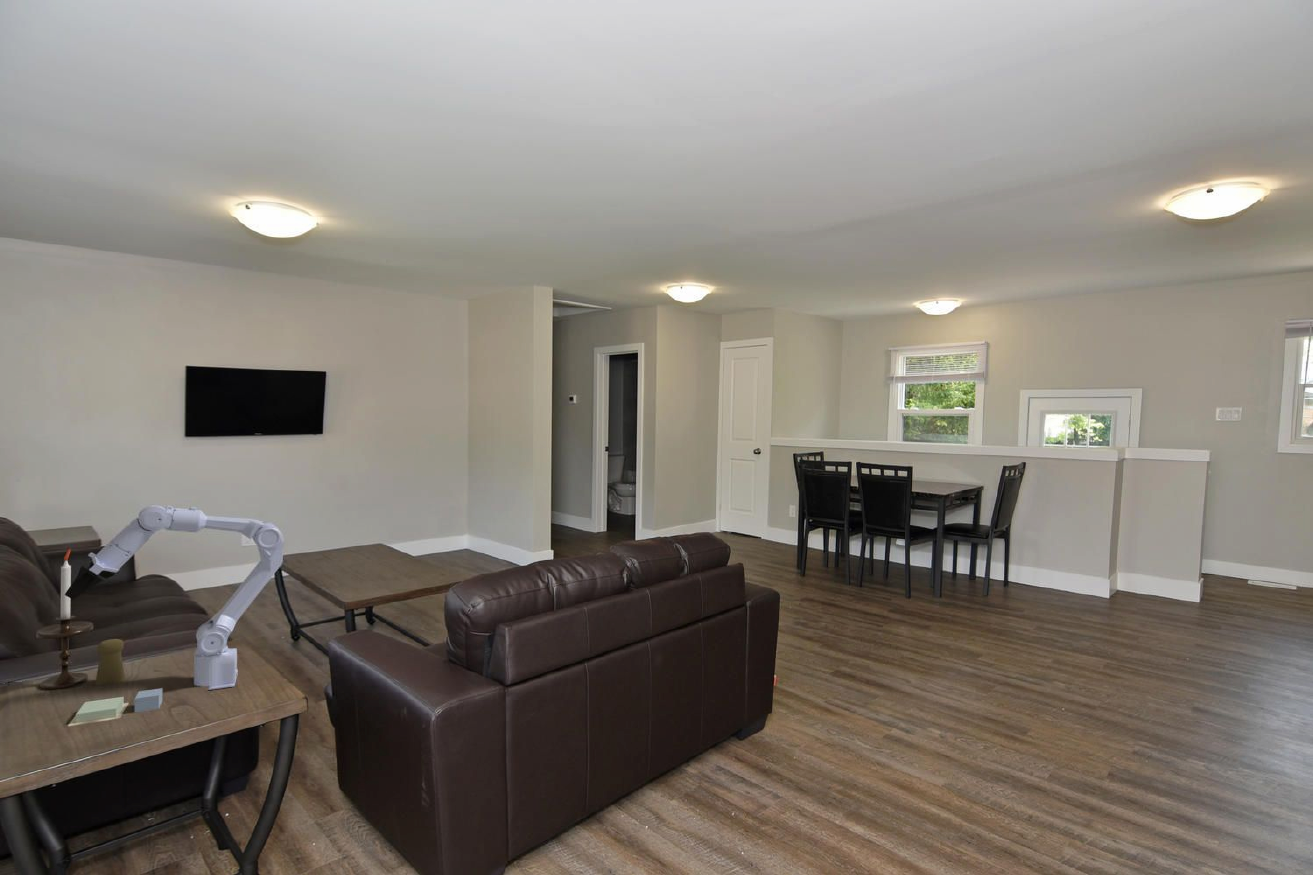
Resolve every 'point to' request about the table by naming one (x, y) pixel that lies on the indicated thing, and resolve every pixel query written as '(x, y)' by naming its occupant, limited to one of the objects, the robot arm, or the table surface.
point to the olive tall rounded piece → (110, 662)
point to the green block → (99, 709)
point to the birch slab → (100, 719)
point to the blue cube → (148, 700)
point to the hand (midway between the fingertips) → (73, 594)
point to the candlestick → (64, 636)
